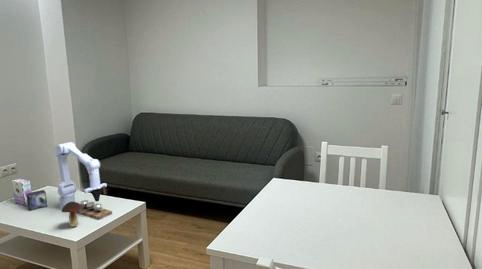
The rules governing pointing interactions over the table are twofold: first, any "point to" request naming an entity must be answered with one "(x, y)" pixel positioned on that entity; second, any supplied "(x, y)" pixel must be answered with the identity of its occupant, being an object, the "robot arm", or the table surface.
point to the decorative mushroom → (72, 212)
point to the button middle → (90, 205)
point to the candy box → (21, 191)
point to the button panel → (94, 213)
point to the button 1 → (84, 203)
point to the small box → (36, 200)
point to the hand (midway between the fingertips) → (97, 200)
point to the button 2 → (97, 207)
